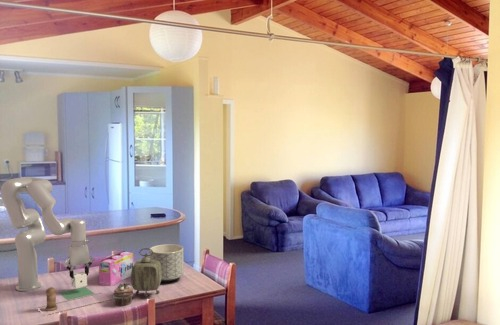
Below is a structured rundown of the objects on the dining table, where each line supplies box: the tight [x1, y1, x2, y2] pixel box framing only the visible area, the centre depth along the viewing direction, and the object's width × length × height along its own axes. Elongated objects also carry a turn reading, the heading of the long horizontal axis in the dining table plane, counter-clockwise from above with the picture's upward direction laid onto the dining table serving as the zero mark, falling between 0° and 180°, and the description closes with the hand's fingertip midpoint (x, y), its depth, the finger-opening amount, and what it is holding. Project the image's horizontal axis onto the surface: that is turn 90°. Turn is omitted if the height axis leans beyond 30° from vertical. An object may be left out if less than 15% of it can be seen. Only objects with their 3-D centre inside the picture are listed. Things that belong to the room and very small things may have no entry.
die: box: [70, 271, 88, 289], centre depth 249 cm, size 6×6×6 cm
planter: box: [149, 243, 185, 283], centre depth 270 cm, size 19×19×18 cm
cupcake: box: [112, 282, 134, 307], centre depth 234 cm, size 10×10×10 cm
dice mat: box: [58, 286, 96, 301], centre depth 248 cm, size 14×14×1 cm
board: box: [35, 292, 113, 316], centre depth 233 cm, size 13×33×1 cm, turn 130°
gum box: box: [98, 250, 135, 287], centre depth 271 cm, size 24×8×14 cm, turn 160°
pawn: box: [45, 287, 58, 312], centre depth 226 cm, size 5×5×11 cm
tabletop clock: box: [130, 247, 162, 298], centre depth 244 cm, size 14×9×25 cm, turn 92°
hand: (79, 276), depth 249 cm, fingers open, 7 cm apart
